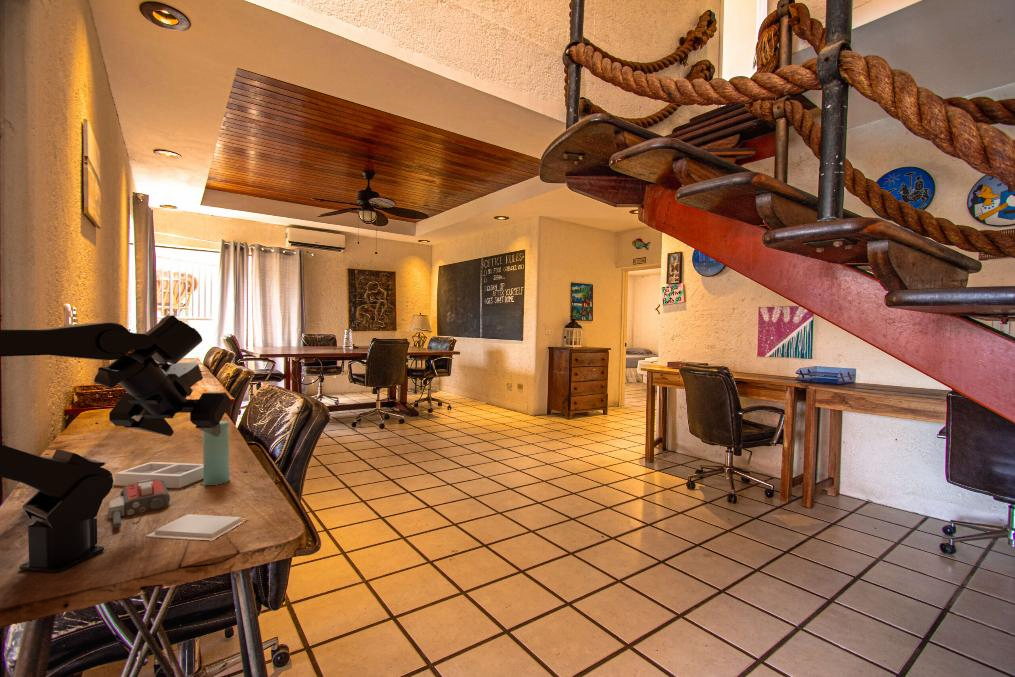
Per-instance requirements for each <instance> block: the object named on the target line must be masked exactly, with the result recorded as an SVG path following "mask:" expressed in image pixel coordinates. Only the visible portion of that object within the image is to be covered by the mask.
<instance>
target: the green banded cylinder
mask: <svg viewBox="0 0 1015 677" xmlns="http://www.w3.org/2000/svg"><path fill="white" fill-rule="evenodd" d="M220 429H221V433H220V435H219V436H218V437H216V436H213V435H211V434H209V433H206V432H204V431H202V455H203V456H202V457H203V458H202V460H203V463H202V464H203V471H204V478H203V486H205V485H216V486H219V485H218V484H221V485H223V484H222V483H224V484H226V483H225V482H227V483H228V481H229V480H230V478H231V476H230V475H231V474H230V470H231V469H230V422H229V421H226V420H221V421H220ZM230 481H231V480H230ZM230 481H229V482H230Z"/></svg>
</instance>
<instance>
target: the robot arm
mask: <svg viewBox="0 0 1015 677" xmlns="http://www.w3.org/2000/svg"><path fill="white" fill-rule="evenodd" d="M202 342H203V337H202V335H201V333H200V332H199V331H198V330H197V329H196V328H195V327H191V325H189V324H187V323H186V322H184V321H182V320H180V319H178V318H177V317H176V316H175V315H173V314H172V315H171V314H170V315H165V316H164V317H163V318H161V319H160V320H159V322H158V323H156V324H155V325H154V326H153V327H152V328H150V329H149V330H148V331H146V332H145V333H137V332H130V330H129V329H128V328H127V327H125V326H124V325H123V324H121V323H117V322H87V323H81V324H79V323H78V324H72V325H63V326H57V327H51V328H44V329H0V357H24V356H25V357H26V356H27V357H28V356H29V357H30V356H53V357H54V356H55V357H61V358H62V357H63V358H72V359H81V360H82V359H84V360H96V361H97V360H98V361H99V360H100V361H113V362H111V363H110V364H108V365H107V366H100V367H98V368H97V374H96V375H95V377H94V379H93V383H95V384H98V385H101V386H104V387H105V388H109V389H113V388H115V387H116V386H117V385H120V386H121V387H122V388H123V389H124V390H125V391H126V392H124V393H123V395H122V396H121V398H120V399H119V400H118V401H117V403H116V404H114V407H113V408H112V409H111V410H110V411H109V415H108V420H109V421H110V422H111V423H112V424H113V425H114V426H115V427H124V428H126V429H134V430H138V431H143V432H148V433H152V434H157V435H162V436H166V437H172V436H173V434H174V433H175V431H174V429H173V428H172V427H171V425H170V423H169V422H168V420H166V419H173V418H174V417H175V415H176V414H178V413H181V414H182V413H184V414H185V413H187V414H188V413H189V421H190V422H191V424H192V425H195V428H196V429H198V430H199V431H202V432H203V431H204V432H206V433H209V434H211V435H213V436H216V437H218V436H219V435H220V433H221V429H220V421H222V418H223V417H224V415H225V414H226V411H227V410H228V408H229V407H230V405H231V403H232V399H231V398H230V397H229V395H228V393H226V392H225V391H224V392H222V391H221V392H220V391H217V392H215V391H214V392H213V391H212V392H211V391H210V392H209V391H208V392H202V393H201V395H200V397H199V398H198V399H197V398H196V399H194V398H193V399H191V398H189V399H187V397H191V395H192V393H193V392H194V390H193V389H192V387H193V386H194V385H196V384H197V383H198V382H199V381H201V382H202V380H203V378H204V376H203V374H202V372H201V368H200V365H199V363H198V362H181V360H183V359H184V358H185V357H186V356H187V355H188V354H189V353H190V352H191V351H193V350H194V349H195V348H197V346H199V345H200V344H201V343H202ZM129 352H130V353H129ZM105 464H106V463H105V462H104V461H99V460H96V459H92V458H88V457H84V456H82V455H80V454H77V453H75V452H72V451H68V450H64V449H60V448H56V450H55V451H54V453H53V454H52V456H51V457H50V456H42V455H36V454H32V453H29V452H27V451H24V450H20V449H17V448H15V447H10V446H7V445H4V444H0V478H4V479H8V480H10V481H15V482H18V483H21V484H22V485H24V486H26V487H29V488H30V489H32V490H34V491H36V493H35V494H34V495H32V496H31V497H30V499H28V501H26V502H25V503H24V504H23V505H22V507H21V508H22V510H23V511H24V513H25V515H26V517H27V518H28V519H30V520H34V521H35V522H33V524H30V525H28V526H27V538H28V539H27V540H28V541H27V544H28V547H27V548H28V561H27V562H24V563H21V564H20V565H19V568H18V569H19V570H20V569H22V571H31V572H32V571H34V572H46V573H58V572H61V571H63V570H65V569H67V568H70V567H72V566H74V565H76V564H78V563H80V562H82V561H84V560H87V559H88V558H91V557H93V556H95V555H97V554H100V553H101V552H104V551H105V546H101V545H99V546H98V518H97V516H98V513H99V510H100V508H101V505H102V503H103V500H104V499H105V498H106V497H107V496H108V495H109V494H110V493H111V491H112V489H113V486H114V485H113V481H114V478H113V477H114V476H113V473H112V472H111V471H110V470H109V469H106V468H104V467H102V466H104V465H105Z"/></svg>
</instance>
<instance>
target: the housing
mask: <svg viewBox="0 0 1015 677" xmlns="http://www.w3.org/2000/svg"><path fill="white" fill-rule="evenodd" d="M149 479H151V480H154V479H159V480H163V481H164V483H165V486H166V488H167V489H181V488H184V487H186V486H188V485H191V484H193V483H196V482H198V481H200V480H204V471H203V463H188V462H187V463H186V462H185V463H184V462H183V463H182V462H158V461H150V462H147V463H144V464H143V463H142V464H140V465H137V466H134V467H131V468H127V469H125V470H121V471H117V472H115V473H114V479H113V486H122V487H123V486H124V487H126V486H127V485H129V484H132V483H137V482H138V481H143V480H149Z"/></svg>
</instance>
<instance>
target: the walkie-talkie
mask: <svg viewBox="0 0 1015 677" xmlns="http://www.w3.org/2000/svg"><path fill="white" fill-rule="evenodd" d="M119 493H120V496H119V497H117V498H114V499H112V500H110V501H109V505H108V506H109V507H108V508H107V509H108V510H107V511H108V512H107V514H108V516H107V517H108V519H109V520H110V519H112V526H113V527H114V528H120V527H121V526H122V519H121V518H122V516H123V517H125V516H132V515H135V514H140V513H145V512H149V511H154V510H155V511H156V510H158V509H159V510H160V509H163V508H162V507H164V508H167V507H166V506H168V505H169V506H170V501H171V496H170V494H169V490H168V488H166V486H165V483H164V481H163V480H159V479H154V480H151V479H149V480H143V481H138V482H137V483H132V484H129V485H127V486H124V487H122V491H120V492H119ZM169 506H168V507H169Z"/></svg>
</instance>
